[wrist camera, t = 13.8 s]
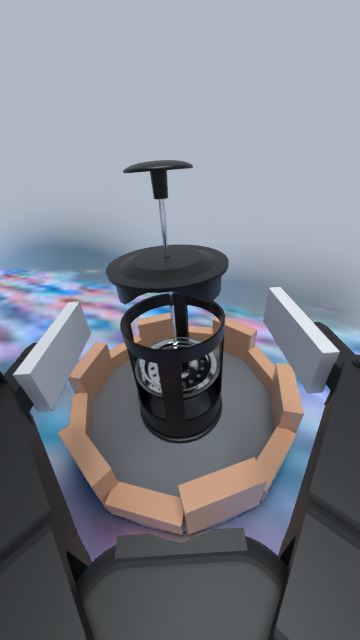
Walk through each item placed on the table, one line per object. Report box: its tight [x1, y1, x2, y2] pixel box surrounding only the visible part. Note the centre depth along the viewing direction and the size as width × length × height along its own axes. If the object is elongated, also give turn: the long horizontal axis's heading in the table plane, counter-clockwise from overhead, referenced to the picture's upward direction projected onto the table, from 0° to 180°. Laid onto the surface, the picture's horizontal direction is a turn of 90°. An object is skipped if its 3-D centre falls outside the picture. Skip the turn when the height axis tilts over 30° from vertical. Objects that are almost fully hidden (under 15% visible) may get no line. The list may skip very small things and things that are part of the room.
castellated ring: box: [58, 313, 304, 535], centre depth 26 cm, size 24×24×6 cm
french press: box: [106, 160, 228, 443], centre depth 20 cm, size 12×9×23 cm
